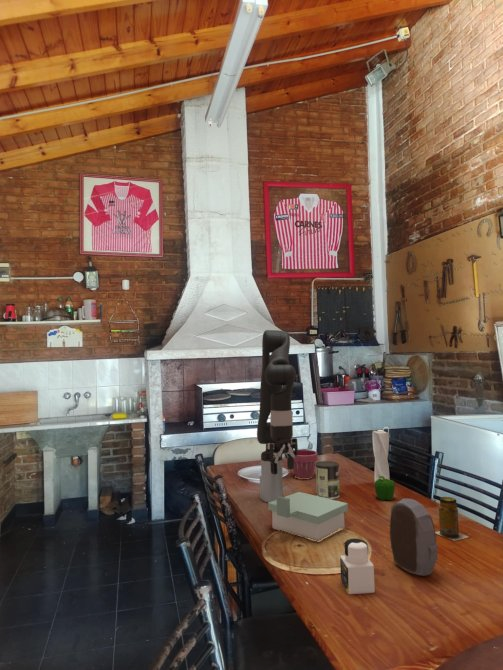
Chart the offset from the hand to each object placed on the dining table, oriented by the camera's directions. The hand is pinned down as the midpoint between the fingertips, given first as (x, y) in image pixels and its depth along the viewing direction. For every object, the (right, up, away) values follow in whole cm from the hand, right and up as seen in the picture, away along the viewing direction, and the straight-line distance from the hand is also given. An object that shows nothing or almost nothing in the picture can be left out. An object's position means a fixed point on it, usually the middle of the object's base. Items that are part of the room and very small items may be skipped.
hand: (282, 471), depth 156 cm
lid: (+8, -16, +7) cm, 20 cm away
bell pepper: (+47, -24, +41) cm, 67 cm away
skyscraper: (+51, -25, +58) cm, 81 cm away
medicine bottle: (+18, -21, -34) cm, 43 cm away
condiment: (+57, -22, 0) cm, 61 cm away
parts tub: (+10, -23, +9) cm, 26 cm away
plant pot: (+16, -27, +79) cm, 85 cm away
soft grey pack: (+37, -21, -24) cm, 49 cm away
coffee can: (+23, -25, +47) cm, 58 cm away
